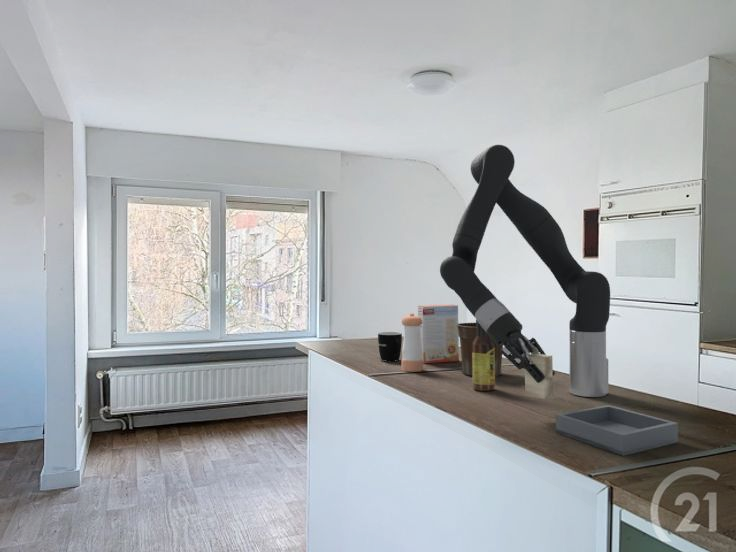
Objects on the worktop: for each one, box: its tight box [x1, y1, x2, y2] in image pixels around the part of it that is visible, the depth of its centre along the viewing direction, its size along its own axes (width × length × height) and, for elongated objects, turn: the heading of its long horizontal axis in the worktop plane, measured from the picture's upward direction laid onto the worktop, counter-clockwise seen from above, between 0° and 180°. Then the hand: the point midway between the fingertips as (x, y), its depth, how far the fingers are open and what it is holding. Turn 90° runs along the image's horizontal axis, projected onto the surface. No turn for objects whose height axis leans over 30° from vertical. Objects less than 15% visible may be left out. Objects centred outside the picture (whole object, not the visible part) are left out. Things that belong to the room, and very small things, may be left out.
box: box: [555, 404, 679, 457], centre depth 109 cm, size 16×16×4 cm
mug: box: [377, 331, 403, 362], centre depth 202 cm, size 12×9×10 cm
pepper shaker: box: [400, 313, 424, 373], centre depth 183 cm, size 7×7×19 cm
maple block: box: [524, 353, 554, 400], centre depth 122 cm, size 4×4×9 cm
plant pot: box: [456, 322, 504, 377], centre depth 176 cm, size 16×16×16 cm
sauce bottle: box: [472, 319, 496, 392], centre depth 153 cm, size 7×6×20 cm
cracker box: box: [417, 303, 460, 364], centre depth 199 cm, size 14×6×21 cm, turn 105°
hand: (546, 378), depth 121 cm, fingers closed on maple block, 4 cm apart
